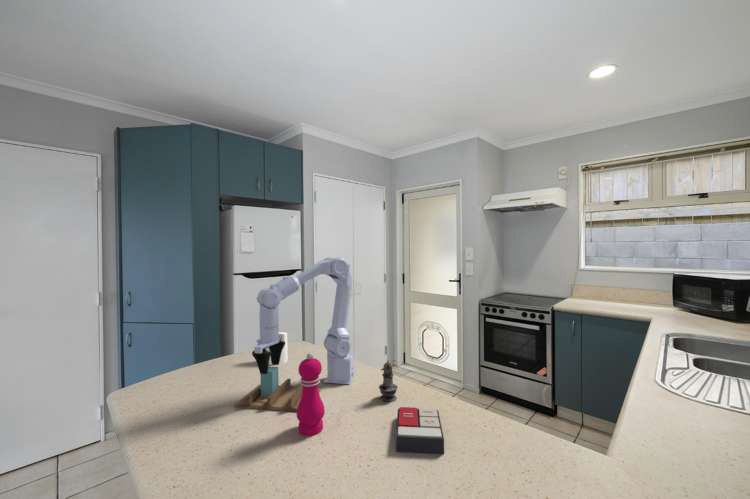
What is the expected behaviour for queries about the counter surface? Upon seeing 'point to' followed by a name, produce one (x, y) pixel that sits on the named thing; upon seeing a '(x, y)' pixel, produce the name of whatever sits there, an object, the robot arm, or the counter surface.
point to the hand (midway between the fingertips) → (269, 368)
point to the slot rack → (273, 398)
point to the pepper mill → (310, 397)
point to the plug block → (269, 382)
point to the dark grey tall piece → (388, 384)
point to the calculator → (419, 431)
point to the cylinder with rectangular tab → (284, 352)
